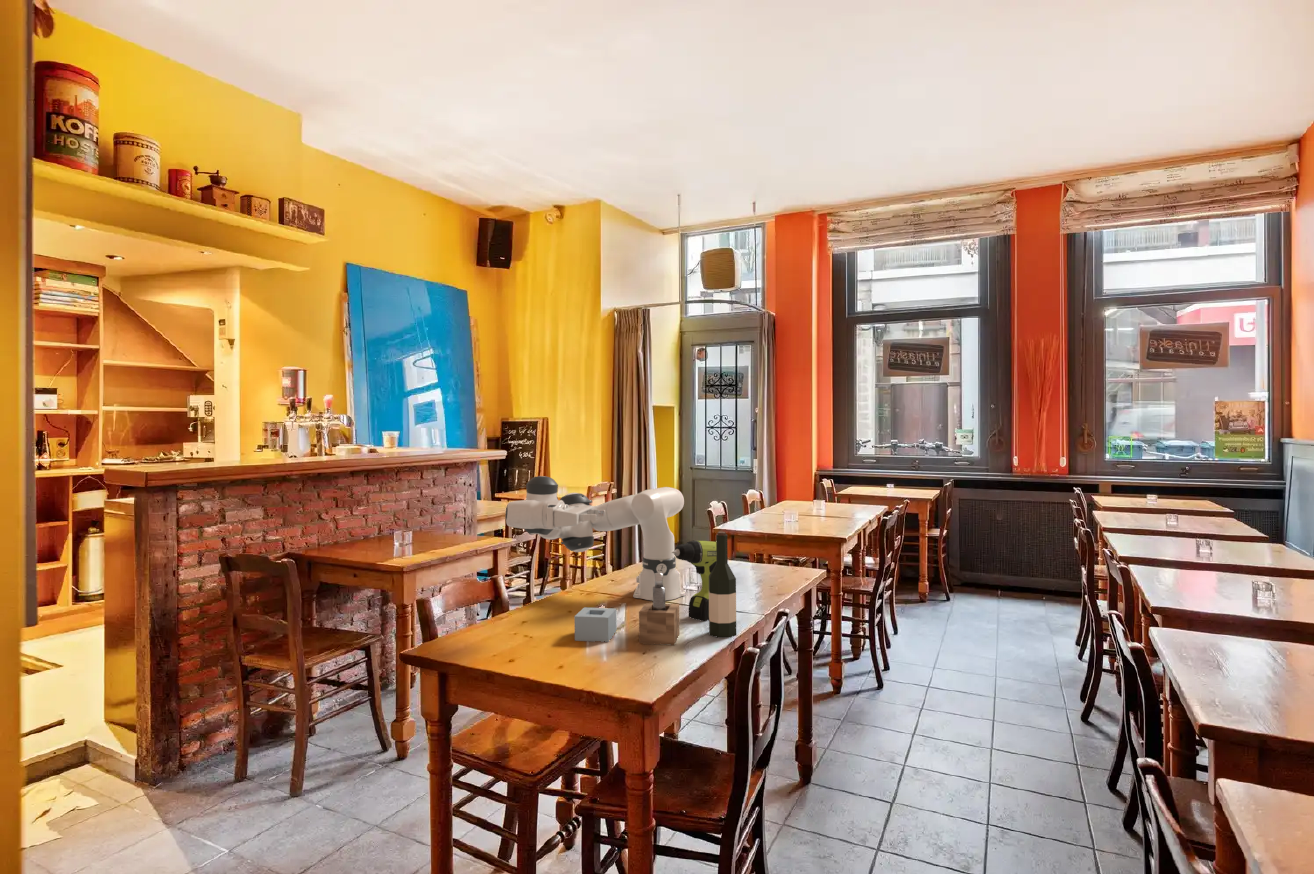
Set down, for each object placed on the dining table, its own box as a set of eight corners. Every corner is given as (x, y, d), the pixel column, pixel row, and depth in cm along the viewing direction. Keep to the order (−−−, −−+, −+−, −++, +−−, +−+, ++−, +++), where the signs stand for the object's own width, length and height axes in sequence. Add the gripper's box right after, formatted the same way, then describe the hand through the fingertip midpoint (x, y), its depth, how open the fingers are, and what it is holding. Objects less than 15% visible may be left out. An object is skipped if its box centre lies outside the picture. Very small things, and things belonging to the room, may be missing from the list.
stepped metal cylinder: (652, 627, 205) (651, 572, 205) (664, 626, 206) (664, 571, 205) (654, 630, 202) (653, 574, 201) (666, 630, 202) (665, 574, 202)
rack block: (646, 633, 209) (645, 603, 209) (679, 634, 208) (679, 604, 207) (639, 643, 199) (638, 611, 199) (674, 645, 198) (673, 613, 198)
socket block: (584, 630, 213) (584, 607, 213) (616, 631, 211) (616, 608, 211) (574, 640, 203) (574, 616, 203) (608, 642, 201) (608, 617, 201)
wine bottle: (703, 631, 210) (702, 531, 210) (728, 628, 214) (727, 529, 213) (716, 639, 203) (715, 535, 202) (742, 635, 206) (741, 533, 205)
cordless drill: (681, 628, 214) (680, 546, 213) (664, 624, 219) (663, 543, 218) (730, 613, 230) (729, 537, 230) (713, 609, 235) (712, 534, 235)
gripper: (566, 520, 225) (609, 520, 222) (545, 530, 205) (591, 530, 202) (566, 500, 225) (608, 500, 222) (545, 508, 205) (591, 508, 202)
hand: (600, 515), depth 212 cm, fingers open, 8 cm apart
